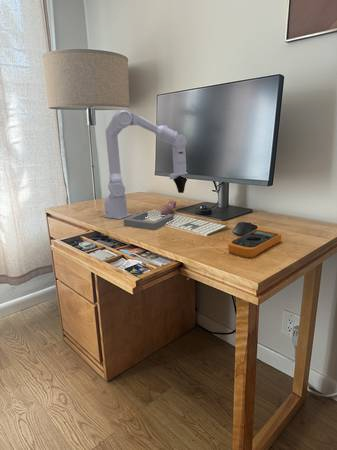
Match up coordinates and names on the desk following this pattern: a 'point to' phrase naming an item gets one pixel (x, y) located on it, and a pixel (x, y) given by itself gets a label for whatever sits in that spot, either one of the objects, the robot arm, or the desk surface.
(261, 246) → the multimeter
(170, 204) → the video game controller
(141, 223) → the tray
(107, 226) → the desk surface
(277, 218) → the desk surface
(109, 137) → the robot arm
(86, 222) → the desk surface
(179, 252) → the desk surface
